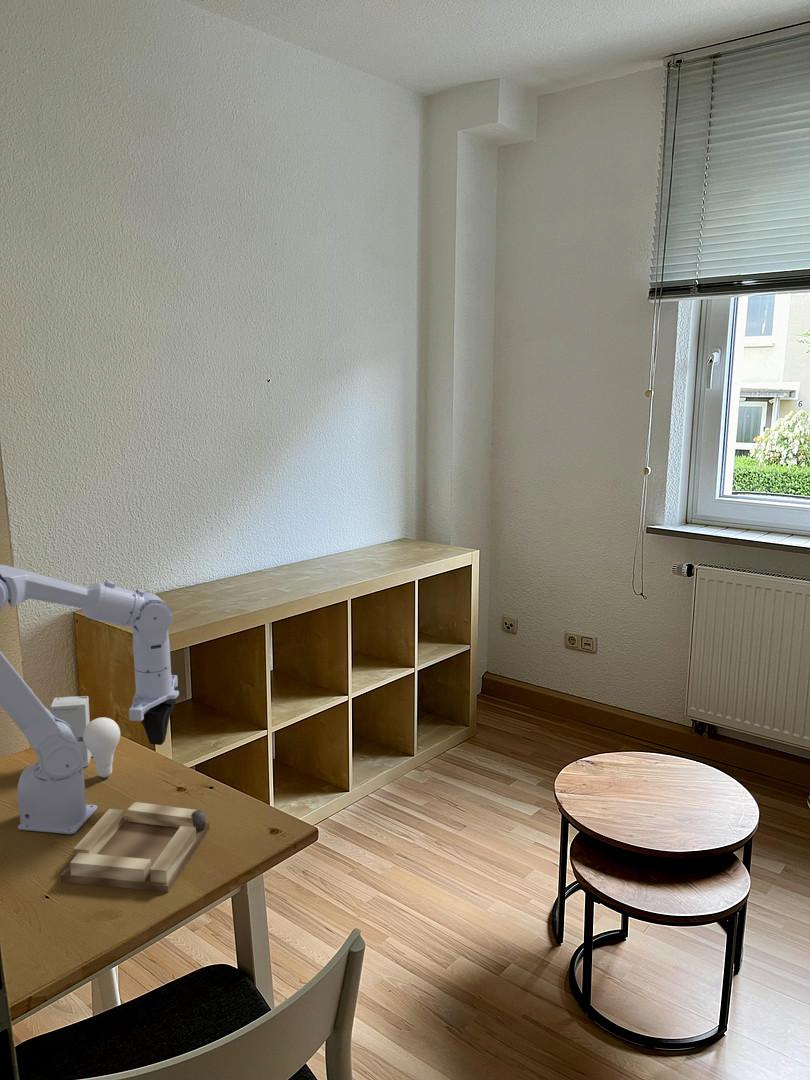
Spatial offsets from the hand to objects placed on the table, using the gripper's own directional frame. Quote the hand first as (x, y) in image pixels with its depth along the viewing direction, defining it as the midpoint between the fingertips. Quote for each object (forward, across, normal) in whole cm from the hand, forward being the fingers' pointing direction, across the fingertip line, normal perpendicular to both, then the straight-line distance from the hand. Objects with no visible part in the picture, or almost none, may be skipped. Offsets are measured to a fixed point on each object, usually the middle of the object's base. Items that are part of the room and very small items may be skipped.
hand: (157, 742), depth 142 cm
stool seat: (+9, -17, -4) cm, 20 cm away
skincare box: (+10, +8, +20) cm, 24 cm away
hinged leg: (+8, -10, -6) cm, 14 cm away
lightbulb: (+10, +4, +12) cm, 16 cm away
